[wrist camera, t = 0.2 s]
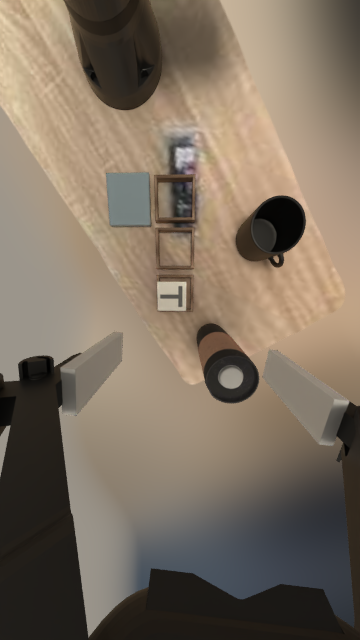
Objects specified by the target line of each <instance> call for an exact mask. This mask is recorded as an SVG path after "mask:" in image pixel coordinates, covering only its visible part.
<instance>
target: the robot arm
mask: <svg viewBox="0 0 360 640" xmlns="http://www.w3.org/2000/svg"><path fill="white" fill-rule="evenodd" d="M64 1H65V4H66V6H67V9H68V11H69V16H70V20H71V25H72V29H73V34H74V38H75V42H76V47H77V51H78V56H79V59H80V63H81V65H82V68H83V71H84V73H85V75H86V77H87V79H88V81H89V84H90V86H91V87H92V89H93V91H94V92H95V93H96V95H97V96H98V97H99V98H100V99H101V100H102V101H103V102H105V103H106V104H108V105H109V106H111V107H114V108H117V109H131V108H135V107H137V106H139V105H141V104H142V103H144V102H145V101H146V100H147V99H148V98H149V97H150V96H151V94H152V93H153V92H154V90H155V88H156V86H157V84H158V81H159V78H160V74H161V68H162V53H161V43H160V35H159V30H158V26H157V22H156V19H155V16H154V13H153V10H152V7H151V4H150V1H149V0H64ZM122 342H123V333H121V332H113V333H112V334H110V335H109V336H107V337H106V338H104V339H103V340H101V341H100V342H98V343H97V344H95V345H94V346H92V347H91V348H89V349H88V350H86V351H85V352H83V353H78V354H76V355H73V356H71V357H69V358H68V359H67V360H65V361H63V362H62V363H60V364H58V365H57V366H55V367H54V360H53V358H52V357H50V356H35V357H30V358H27V359H24V360H22V361H21V362H19V364H18V368H19V377H20V381H11V382H10V381H9V382H4V380H3V375H2V374H1V373H0V436H1V434H2V432H3V431H4V429H5V428H6V426H9V425H11V427H10V432H9V436H8V442H7V447H6V452H5V457H4V462H3V467H2V472H1V477H0V640H360V406H356V405H354V404H353V403H351V402H350V401H349V400H347V399H346V398H345V397H343V396H342V395H340V394H339V393H337V392H336V391H335V390H333V389H332V388H330V387H329V386H327V385H326V384H325V383H323V382H322V381H320V380H319V379H318V378H316V377H315V376H313V375H312V374H310V373H309V372H308V371H306V370H305V369H303V368H302V367H300V366H299V365H298V364H296V363H295V362H293V361H292V360H290V359H289V358H288V357H286V356H285V355H283V354H282V353H281V352H279V351H278V350H269V352H268V356H267V360H266V365H265V369H264V373H263V378H264V380H265V381H266V382H267V383H268V384H269V386H270V387H271V388H272V389H273V390H274V392H275V393H276V394H277V395H278V396H279V398H280V399H281V400H282V401H283V402H284V403H285V404H286V406H287V407H288V408H289V409H290V411H291V412H292V413H293V414H294V415H295V417H296V418H297V419H298V420H299V421H300V422H301V424H302V425H303V426H304V427H305V428H306V430H307V431H308V432H309V433H310V434H311V435H312V437H313V438H314V439H315V440H316V441H317V443H318V444H321V445H330V446H333V445H334V442H335V439H336V437H339V438H340V439H341V441H343V445H342V447H341V450H340V453H339V455H338V458H337V461H338V462H340V460H342V469H343V480H344V493H345V506H346V518H347V530H348V542H349V555H350V567H351V579H352V592H353V603H354V628H353V627H352V626H350V625H349V624H347V623H346V622H345V621H343V620H342V619H340V618H339V617H337V616H336V615H335V614H334V612H333V610H332V608H331V606H330V604H329V601H328V599H327V597H326V595H325V592H324V590H323V589H317V588H308V587H299V586H292V585H284V584H280V585H278V586H275V587H273V588H270V589H268V590H266V591H263V592H261V593H258V594H256V595H253V596H251V597H248V598H246V599H243V600H242V599H237V598H235V597H233V596H232V595H229V594H228V593H226V592H224V591H223V590H221V589H219V588H217V587H216V586H214V585H212V584H210V583H209V582H207V581H205V580H203V579H202V578H200V577H198V576H196V575H195V574H193V573H184V572H176V571H168V570H160V569H151V573H150V581H149V587H147V588H145V589H142V590H140V591H137V592H136V593H134V594H132V595H130V596H129V597H127V598H126V599H124V600H123V601H122V602H121V603H119V604H118V605H117V606H116V607H115V608H114V609H113V610H112V611H111V612H110V613H109V614H108V615H107V616H106V617H105V618H104V619H103V620H102V621H101V623H100V624H99V625H98V627H97V628H96V629H95V630H94V632H93V633H92V634H91V635H90V637H89V638H88V631H87V623H86V615H85V607H84V599H83V592H82V583H81V575H80V569H79V560H78V552H77V544H76V536H75V528H74V521H73V516H72V514H71V510H70V501H69V493H68V485H67V477H66V468H65V460H64V452H63V443H62V435H61V426H60V418H59V409H58V408H59V407H60V406H61V405H62V414H65V415H74V416H77V414H78V413H79V412H80V411H81V410H82V408H83V407H84V406H85V405H86V404H87V402H88V401H89V400H90V399H91V398H92V396H93V395H94V394H95V393H96V392H97V390H98V389H99V388H100V387H101V386H102V384H103V383H104V382H105V381H106V379H107V378H108V377H109V376H110V375H111V373H112V372H113V371H114V370H115V369H116V367H117V366H118V365H119V364H120V362H121V361H122ZM148 588H149V589H148ZM147 597H148V598H147Z"/></svg>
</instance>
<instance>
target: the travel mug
mask: <svg viewBox="0 0 360 640" xmlns="http://www.w3.org/2000/svg"><path fill="white" fill-rule="evenodd" d="M197 344H198V352H199V357H200V361H201V365H202V369H203V374H204V378H205V383H206V386H207V388H208V389H209V391H210V393H211V395H212V396H213V397H214V398H215V399H217V400H219V401H221V402H224V403H239V402H242V401H244V400H246V399H248V398H249V397H250V396H251V395H252V394H253V393H254V392H255V391H256V389H257V387H258V383H259V373H258V370H257V368H256V366H255V365H254V363H253V362H252V361H251V360H250V359H249V357H248V356H247V355H246V354H245V353H244V352H243V350H242V349H241V348H240V347H239V346H238V345H237V343H236V342H235V341H234V340H233V339H232V338H231V337H230V336H229V335H228V334H227V333H226V332H225V331H224V330H223V329H222V328H221V327H220V326H218V325H216V324H207V325H204V326H203V327H201V328H200V330H199V331H198V334H197Z"/></svg>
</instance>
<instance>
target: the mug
mask: <svg viewBox="0 0 360 640" xmlns="http://www.w3.org/2000/svg"><path fill="white" fill-rule="evenodd" d="M305 225H306V218H305V213H304V210H303V208H302V206H301V205H300V204H299V203H298V202H297V201H296V200H295V199H293V198H291V197H288V196H275V197H272V198H269V199H267V200H266V201H264V202H263V203H262V204H261V205H260V206H259V207H258V208H257V209H256V210H255V211H254V212H253V213H252V214H251V215H250V216H249V218H248V219H247V220H246V221H245V222H244V223H243V224H242V225H241V227H240V228H239V230H238V233H237V236H236V245H237V249H238V251H239V253H240V254H241V255H242V256H243V257H244V258H246V259H248V260H250V261H260V260H264V259H267V258H268V259H269V260H270V262H271V264H272V265H273V266H274V267H277V268H278V267H281V266H282V265H283V263H284V256H283V253H285V252H287V251H289V250H290V249H292V248H293V247H294V246H295V245H296V244H297V243H298V242H299V240H300V239H301V237H302V235H303V233H304V230H305ZM276 255H277V256H278V257H279V263H276V262H275V260H274V259H273V256H276Z"/></svg>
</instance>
